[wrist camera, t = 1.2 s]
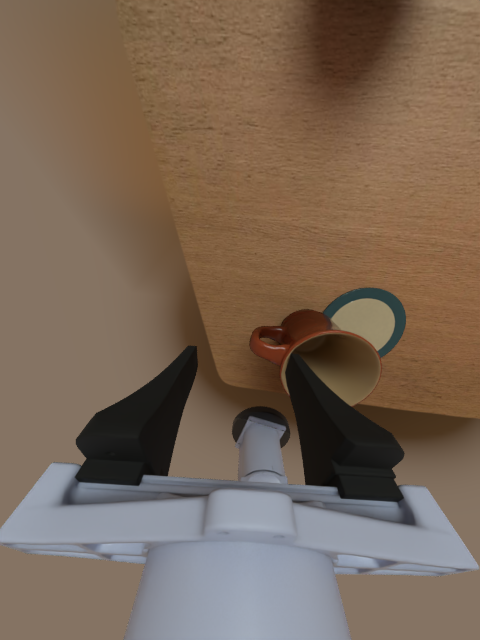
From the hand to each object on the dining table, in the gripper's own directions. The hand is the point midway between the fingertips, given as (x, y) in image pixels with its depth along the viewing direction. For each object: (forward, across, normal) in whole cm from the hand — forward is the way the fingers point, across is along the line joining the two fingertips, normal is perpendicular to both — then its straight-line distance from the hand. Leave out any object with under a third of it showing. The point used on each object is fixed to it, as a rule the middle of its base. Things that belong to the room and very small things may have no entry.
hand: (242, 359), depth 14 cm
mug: (+12, -8, +4) cm, 14 cm away
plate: (+11, -17, +3) cm, 21 cm away
